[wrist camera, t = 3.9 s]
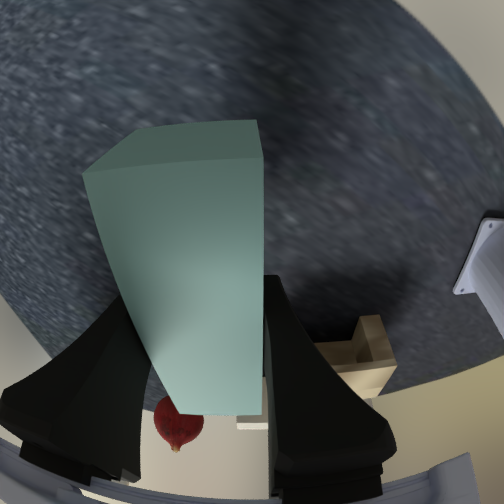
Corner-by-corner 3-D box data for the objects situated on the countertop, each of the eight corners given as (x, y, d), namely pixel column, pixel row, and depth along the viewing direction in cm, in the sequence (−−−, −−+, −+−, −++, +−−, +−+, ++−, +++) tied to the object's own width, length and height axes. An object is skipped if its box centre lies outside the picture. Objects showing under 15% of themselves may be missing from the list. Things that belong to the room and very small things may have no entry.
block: (379, 314, 24) (397, 365, 20) (364, 350, 28) (376, 396, 23) (269, 320, 25) (272, 377, 20) (267, 356, 28) (269, 407, 23)
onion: (150, 381, 32) (138, 441, 25) (193, 378, 31) (185, 444, 24) (173, 402, 35) (165, 456, 28) (213, 400, 34) (209, 458, 28)
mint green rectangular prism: (256, 119, 9) (263, 157, 6) (258, 350, 16) (261, 414, 13) (136, 129, 9) (82, 173, 6) (187, 350, 16) (179, 413, 13)
